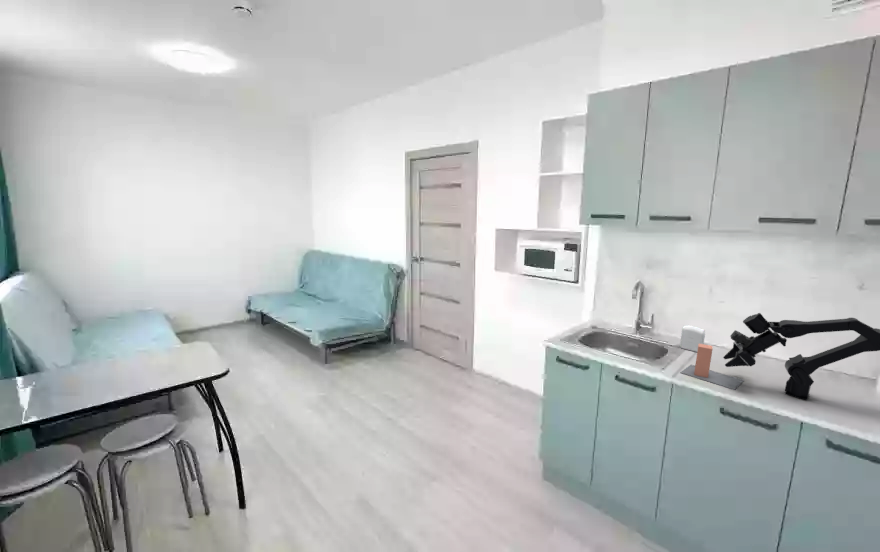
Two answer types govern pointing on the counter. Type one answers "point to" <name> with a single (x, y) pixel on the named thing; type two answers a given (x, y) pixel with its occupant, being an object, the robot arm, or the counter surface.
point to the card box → (703, 360)
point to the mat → (715, 378)
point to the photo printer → (692, 337)
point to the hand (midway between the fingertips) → (724, 361)
